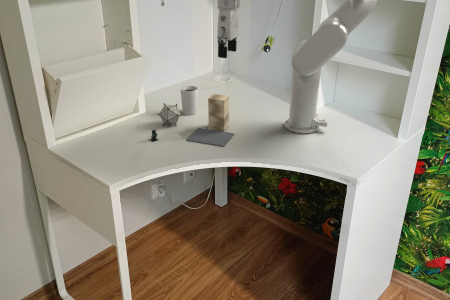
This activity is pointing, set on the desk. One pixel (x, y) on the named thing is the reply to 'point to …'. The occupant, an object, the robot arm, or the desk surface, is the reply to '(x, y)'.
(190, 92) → the white and black cylinder
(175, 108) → the game die
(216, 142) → the slate mat
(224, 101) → the maple block
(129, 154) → the desk surface
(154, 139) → the sculpture
